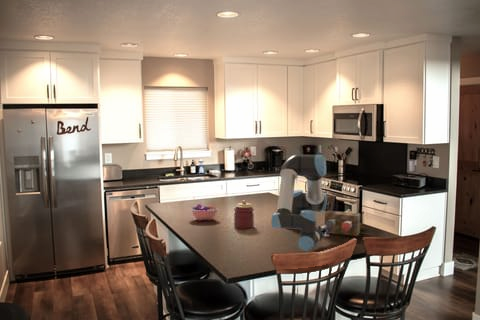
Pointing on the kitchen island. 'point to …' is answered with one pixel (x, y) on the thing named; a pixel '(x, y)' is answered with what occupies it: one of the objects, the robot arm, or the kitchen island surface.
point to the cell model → (204, 212)
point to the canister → (244, 216)
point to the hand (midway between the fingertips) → (324, 227)
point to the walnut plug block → (340, 219)
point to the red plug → (347, 225)
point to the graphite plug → (330, 223)
